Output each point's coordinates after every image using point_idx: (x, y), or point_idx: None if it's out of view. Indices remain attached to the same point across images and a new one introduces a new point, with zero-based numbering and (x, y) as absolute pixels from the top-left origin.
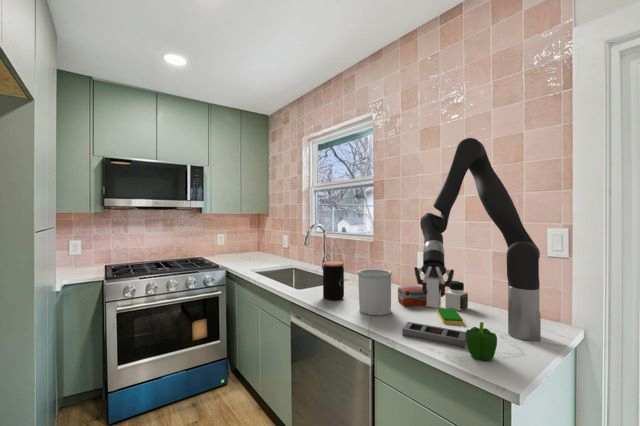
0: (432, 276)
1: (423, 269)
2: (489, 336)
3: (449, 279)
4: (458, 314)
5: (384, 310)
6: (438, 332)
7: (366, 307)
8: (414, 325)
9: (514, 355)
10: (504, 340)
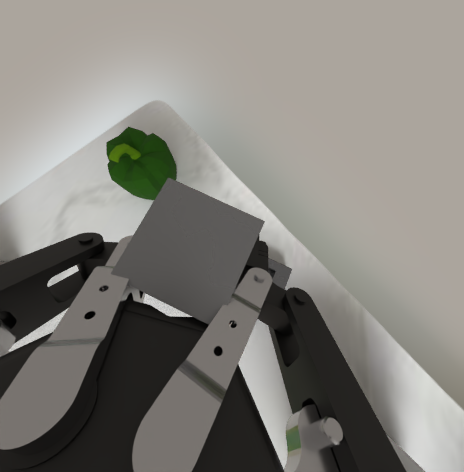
0: (198, 257)
1: (270, 451)
2: (129, 128)
3: (59, 250)
4: None
5: None
6: None
7: (401, 449)
8: None
9: (90, 193)
10: None
